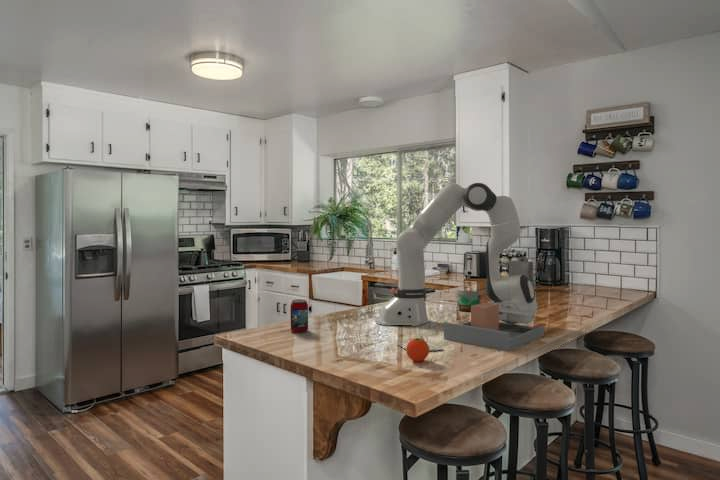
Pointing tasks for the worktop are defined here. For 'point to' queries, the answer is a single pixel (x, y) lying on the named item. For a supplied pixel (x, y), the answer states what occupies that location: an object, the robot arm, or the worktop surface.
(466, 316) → the worktop surface
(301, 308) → the beverage can
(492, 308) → the block
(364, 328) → the worktop surface
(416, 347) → the red tomato
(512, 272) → the flask
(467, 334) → the tray
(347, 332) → the worktop surface
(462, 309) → the potted plant
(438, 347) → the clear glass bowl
